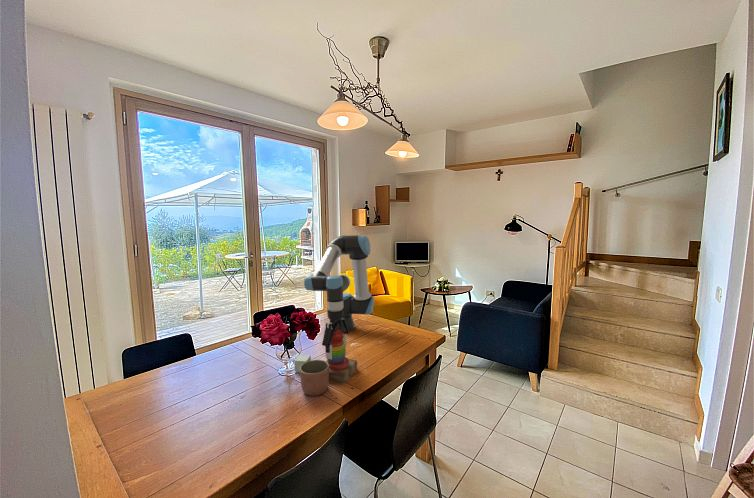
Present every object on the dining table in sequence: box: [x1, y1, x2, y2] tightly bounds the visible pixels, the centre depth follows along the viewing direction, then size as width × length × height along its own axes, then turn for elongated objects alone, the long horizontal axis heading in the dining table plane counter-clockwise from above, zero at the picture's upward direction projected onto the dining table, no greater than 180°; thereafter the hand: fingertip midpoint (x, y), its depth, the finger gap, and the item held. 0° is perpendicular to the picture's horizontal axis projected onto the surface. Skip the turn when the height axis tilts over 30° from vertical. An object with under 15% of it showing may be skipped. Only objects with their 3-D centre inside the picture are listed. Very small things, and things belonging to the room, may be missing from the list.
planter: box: [299, 359, 330, 397], centre depth 132 cm, size 12×12×11 cm
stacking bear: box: [326, 329, 349, 370], centre depth 144 cm, size 11×10×18 cm
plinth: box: [325, 358, 358, 385], centre depth 146 cm, size 14×14×5 cm
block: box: [293, 354, 312, 374], centre depth 150 cm, size 6×6×6 cm
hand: (336, 352), depth 145 cm, fingers open, 13 cm apart
